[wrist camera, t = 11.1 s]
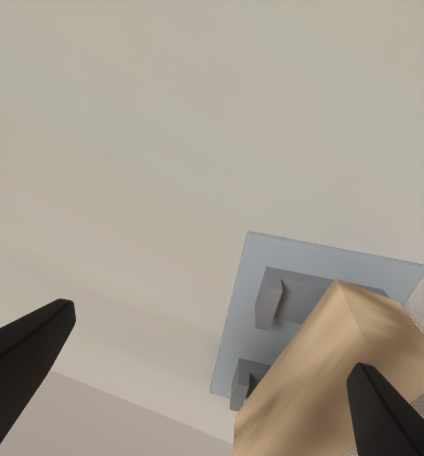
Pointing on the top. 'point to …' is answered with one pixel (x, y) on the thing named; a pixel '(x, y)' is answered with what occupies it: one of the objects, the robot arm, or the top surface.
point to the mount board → (290, 301)
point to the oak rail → (329, 375)
